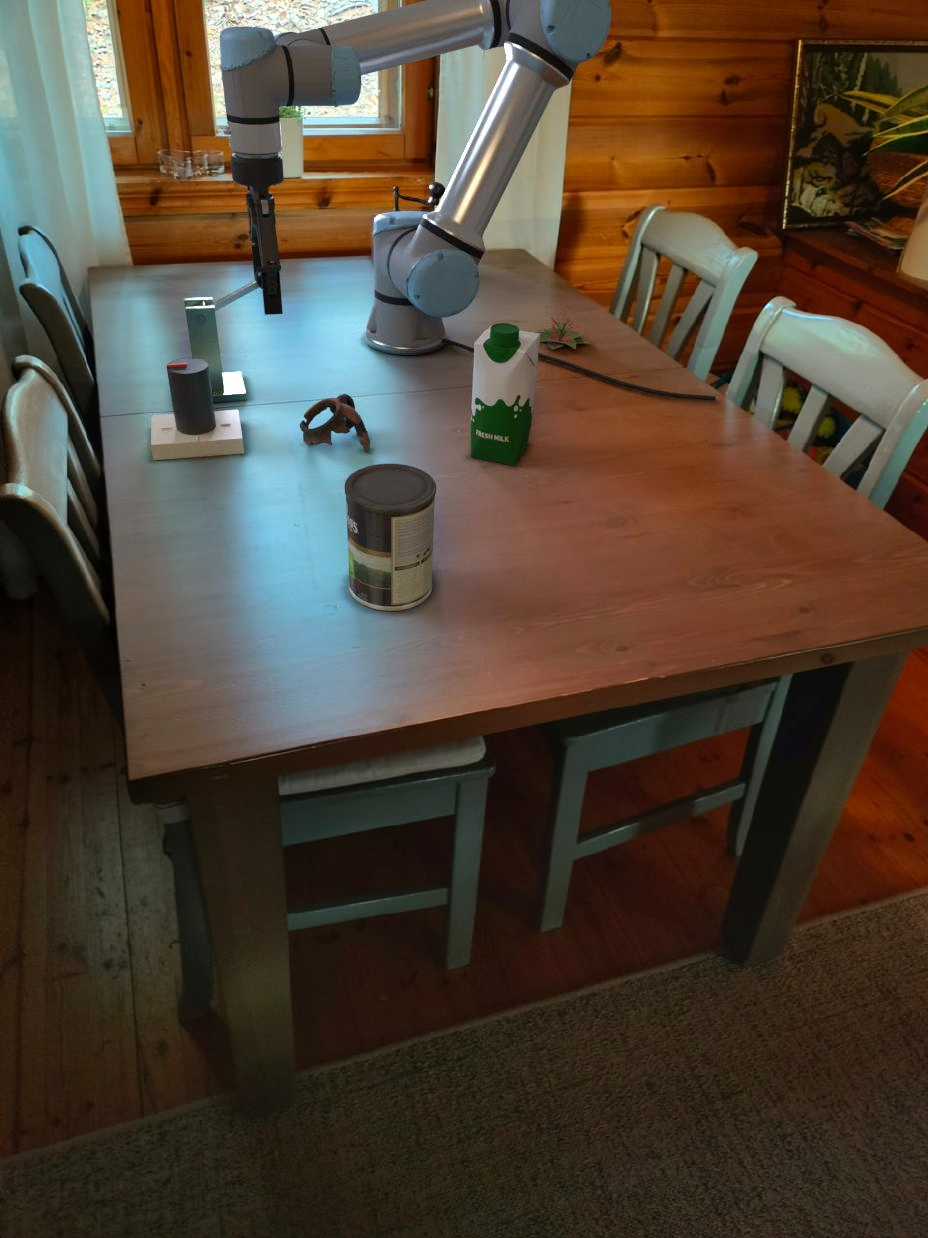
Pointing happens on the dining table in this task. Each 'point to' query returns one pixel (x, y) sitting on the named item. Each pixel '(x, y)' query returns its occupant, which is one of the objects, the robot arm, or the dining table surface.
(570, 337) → the lily flower
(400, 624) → the dining table surface
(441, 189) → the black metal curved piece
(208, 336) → the grey metal lever stand
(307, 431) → the broken clay pot
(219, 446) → the panel
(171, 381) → the tap knob
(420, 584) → the coffee can
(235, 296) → the tap lever
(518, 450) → the milk carton
